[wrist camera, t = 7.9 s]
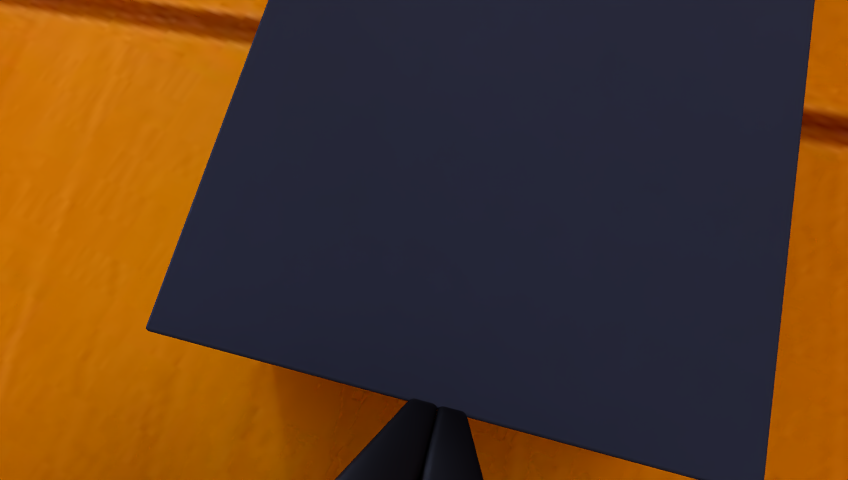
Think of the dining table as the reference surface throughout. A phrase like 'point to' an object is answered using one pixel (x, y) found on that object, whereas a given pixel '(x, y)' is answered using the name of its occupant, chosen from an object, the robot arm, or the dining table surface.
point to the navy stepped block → (513, 214)
